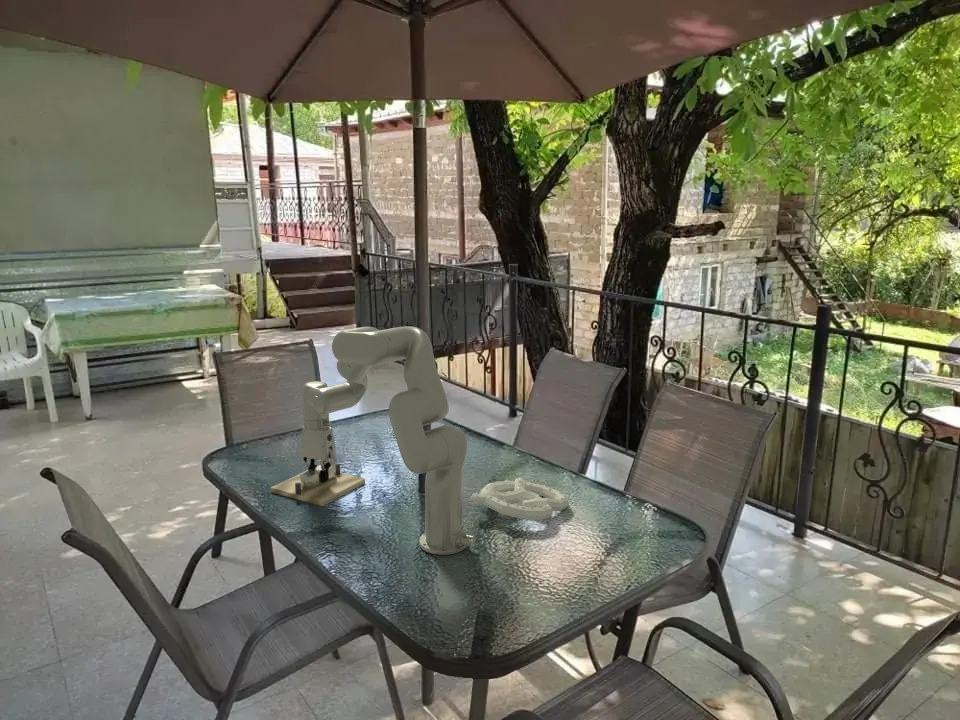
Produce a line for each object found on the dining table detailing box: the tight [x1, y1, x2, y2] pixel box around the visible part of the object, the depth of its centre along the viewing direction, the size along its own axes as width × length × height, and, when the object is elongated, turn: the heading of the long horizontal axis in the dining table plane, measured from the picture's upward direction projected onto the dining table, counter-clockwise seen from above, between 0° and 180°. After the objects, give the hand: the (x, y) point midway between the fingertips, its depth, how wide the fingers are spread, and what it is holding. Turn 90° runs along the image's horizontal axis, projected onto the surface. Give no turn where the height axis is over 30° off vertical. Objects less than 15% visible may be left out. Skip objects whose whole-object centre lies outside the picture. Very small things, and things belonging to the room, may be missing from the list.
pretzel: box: [469, 477, 570, 521], centre depth 202 cm, size 28×24×6 cm
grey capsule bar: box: [300, 462, 337, 488], centre depth 215 cm, size 4×14×4 cm, turn 152°
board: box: [270, 463, 366, 507], centre depth 215 cm, size 20×20×4 cm
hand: (318, 479), depth 215 cm, fingers closed on grey capsule bar, 3 cm apart
